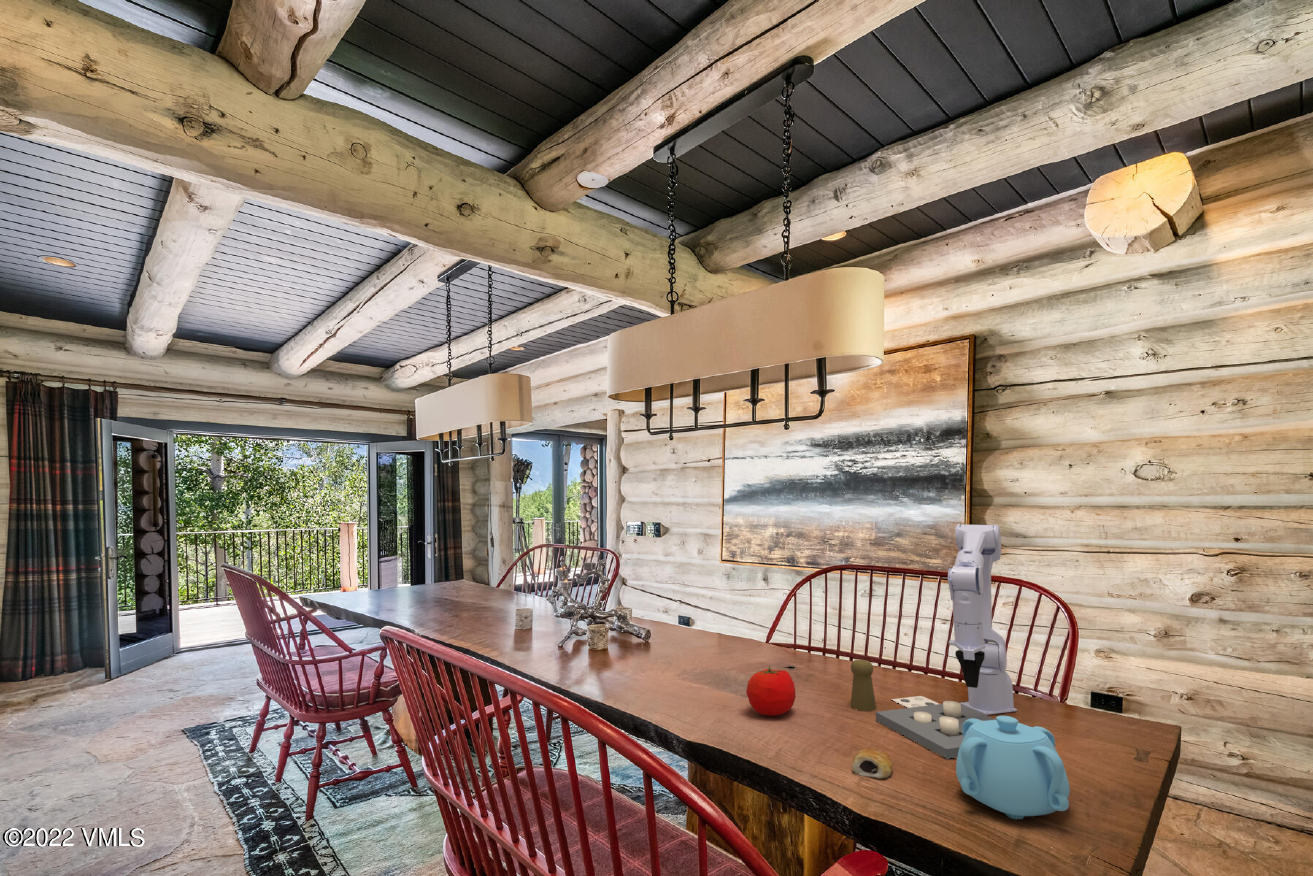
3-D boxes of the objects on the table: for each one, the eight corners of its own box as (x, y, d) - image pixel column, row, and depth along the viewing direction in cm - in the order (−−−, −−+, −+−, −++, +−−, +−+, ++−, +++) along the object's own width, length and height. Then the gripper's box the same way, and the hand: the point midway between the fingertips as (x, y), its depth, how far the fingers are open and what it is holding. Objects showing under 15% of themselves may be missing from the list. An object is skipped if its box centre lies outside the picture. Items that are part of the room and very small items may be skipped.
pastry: (862, 756, 121) (861, 736, 121) (898, 764, 117) (897, 743, 118) (850, 775, 113) (849, 753, 113) (888, 784, 109) (888, 761, 110)
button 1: (953, 713, 139) (952, 700, 140) (965, 718, 136) (964, 705, 136) (940, 715, 138) (939, 701, 139) (952, 720, 135) (951, 706, 135)
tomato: (808, 715, 144) (807, 670, 145) (767, 725, 137) (766, 678, 138) (776, 702, 153) (774, 659, 154) (736, 711, 147) (735, 667, 148)
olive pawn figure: (878, 712, 145) (876, 664, 146) (851, 710, 146) (850, 663, 148) (874, 703, 151) (872, 658, 152) (849, 702, 152) (847, 656, 153)
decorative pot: (964, 773, 113) (959, 696, 114) (1069, 795, 104) (1063, 711, 105) (952, 811, 99) (946, 723, 101) (1071, 839, 90) (1063, 743, 92)
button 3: (924, 724, 137) (923, 710, 137) (935, 729, 133) (935, 716, 134) (910, 726, 136) (910, 712, 136) (922, 731, 132) (921, 717, 133)
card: (921, 697, 156) (921, 695, 156) (944, 707, 148) (944, 705, 148) (891, 700, 153) (891, 698, 153) (913, 711, 146) (913, 709, 146)
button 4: (950, 729, 129) (949, 715, 130) (963, 736, 126) (962, 721, 126) (936, 731, 128) (935, 717, 129) (948, 738, 125) (948, 723, 125)
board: (955, 710, 146) (954, 702, 146) (1036, 746, 125) (1035, 735, 125) (876, 721, 139) (875, 711, 140) (947, 759, 118) (946, 749, 119)
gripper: (949, 614, 142) (952, 675, 141) (946, 626, 129) (949, 693, 128) (983, 617, 139) (987, 679, 137) (983, 629, 126) (988, 698, 124)
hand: (971, 686), depth 132 cm, fingers closed
